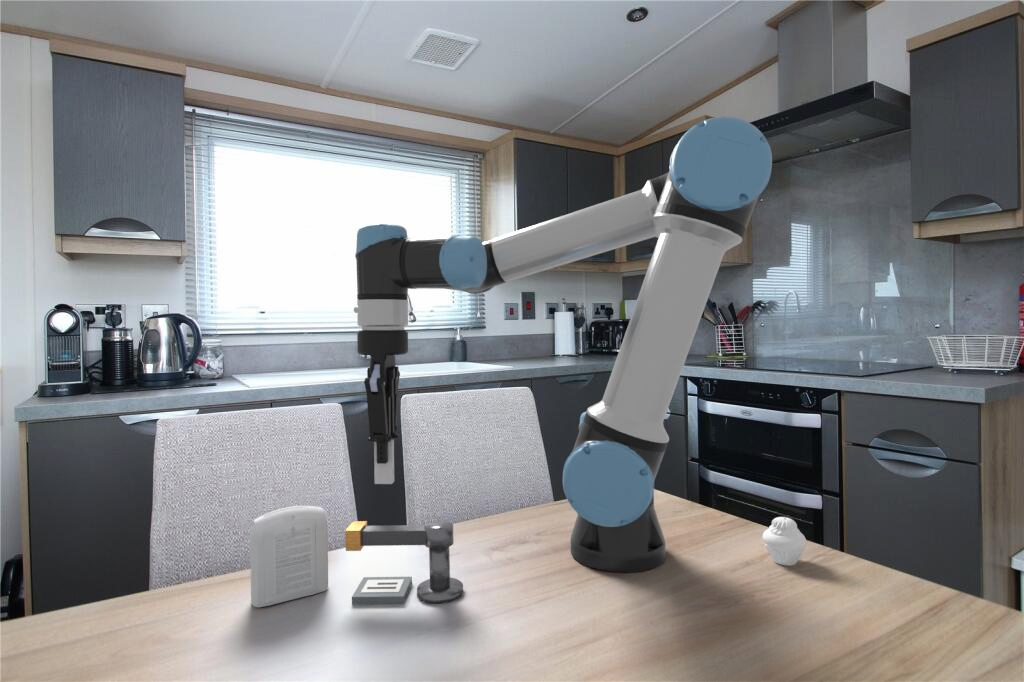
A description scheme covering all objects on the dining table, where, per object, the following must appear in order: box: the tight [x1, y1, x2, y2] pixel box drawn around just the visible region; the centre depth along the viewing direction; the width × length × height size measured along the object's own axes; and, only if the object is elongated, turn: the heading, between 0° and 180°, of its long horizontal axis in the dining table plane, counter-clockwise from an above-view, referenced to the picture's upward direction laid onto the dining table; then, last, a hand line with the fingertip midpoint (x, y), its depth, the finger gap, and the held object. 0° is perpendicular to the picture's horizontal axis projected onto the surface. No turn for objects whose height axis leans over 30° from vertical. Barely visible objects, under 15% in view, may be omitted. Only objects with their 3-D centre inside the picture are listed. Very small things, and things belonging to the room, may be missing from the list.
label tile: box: [351, 576, 413, 605], centre depth 80 cm, size 7×6×1 cm
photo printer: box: [249, 505, 329, 608], centre depth 80 cm, size 10×4×12 cm, turn 123°
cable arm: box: [344, 520, 455, 552], centre depth 80 cm, size 14×4×3 cm, turn 89°
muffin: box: [762, 516, 807, 567], centre depth 88 cm, size 6×6×7 cm
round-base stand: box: [416, 547, 464, 605], centre depth 80 cm, size 6×6×7 cm
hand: (384, 482), depth 88 cm, fingers closed
